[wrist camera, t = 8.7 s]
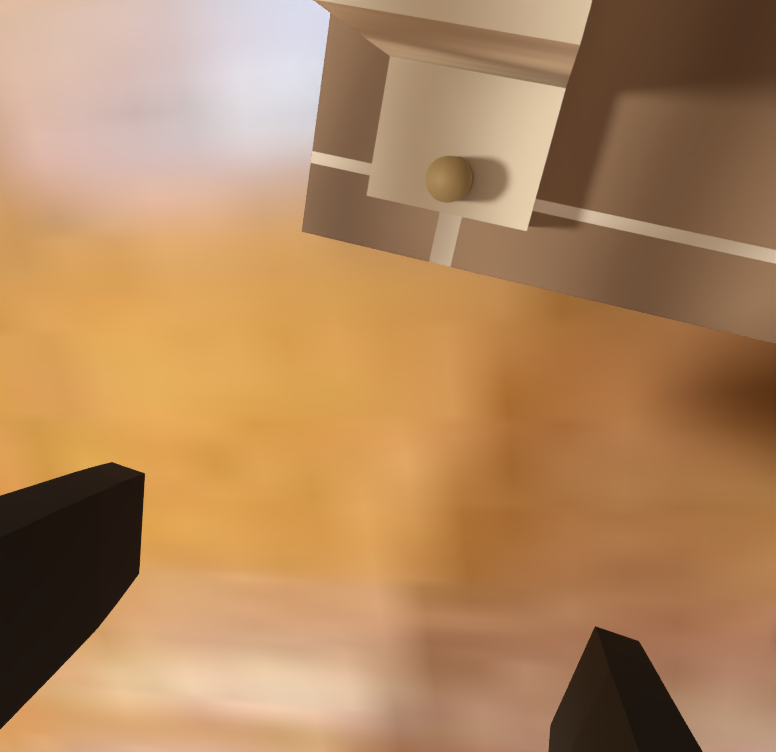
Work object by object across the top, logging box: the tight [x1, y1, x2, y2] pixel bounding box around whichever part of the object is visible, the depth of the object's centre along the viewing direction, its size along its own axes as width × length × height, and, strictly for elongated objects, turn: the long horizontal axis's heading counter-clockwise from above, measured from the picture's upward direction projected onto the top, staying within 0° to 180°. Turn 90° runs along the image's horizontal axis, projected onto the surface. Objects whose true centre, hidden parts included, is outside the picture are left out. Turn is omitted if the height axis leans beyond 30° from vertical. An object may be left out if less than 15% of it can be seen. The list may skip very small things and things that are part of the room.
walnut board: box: [302, 0, 776, 344], centre depth 14 cm, size 20×10×2 cm, turn 79°
